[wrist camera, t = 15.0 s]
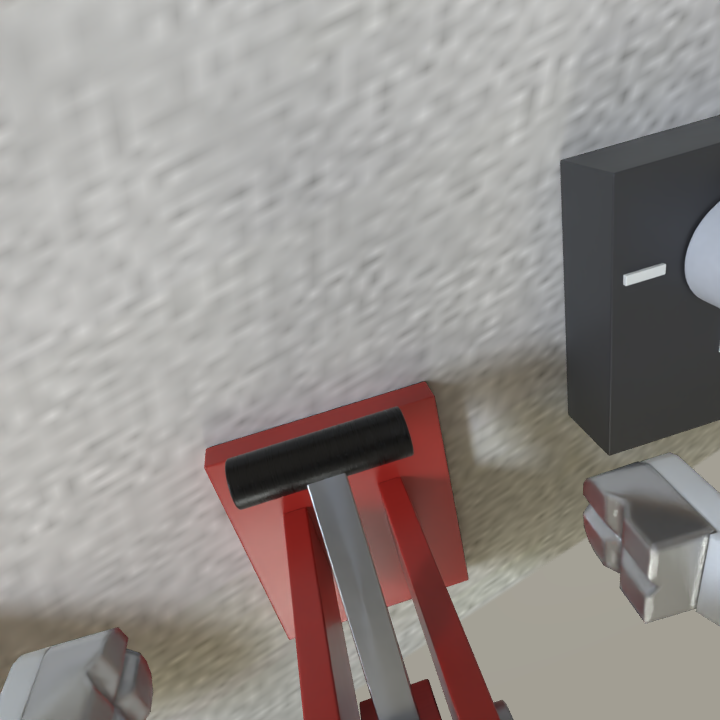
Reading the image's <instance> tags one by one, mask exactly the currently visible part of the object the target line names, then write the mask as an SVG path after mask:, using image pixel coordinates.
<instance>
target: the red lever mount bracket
mask: <svg viewBox="0 0 720 720" xmlns="http://www.w3.org/2000/svg"><path fill="white" fill-rule="evenodd" d="M396 406H398V407H399V408H400V409H401V411H402V413H403V416H404V418H405V421H406V424H407V426H408V429H409V433H410V436H411V440H412V444H413V449H414V455H413V456H410V457H407V458H403V459H400V460H397V461H394V462H391V463H388V464H385V465H381V466H378V467H375V468H372V469H369V470H366V471H363V472H359V473H356V474H353V475H350V476H348V480H349V483H350V486H351V490H352V493H353V496H354V499H355V503H356V506H357V509H358V513H359V516H360V519H361V523H362V526H363V529H364V532H365V536H366V539H367V542H368V546H369V549H370V552H371V556H372V559H373V562H374V565H375V569H376V572H377V575H378V579H379V582H380V585H381V589H382V592H383V595H384V598H385V602H386V605H387V607H389V606H392V605H395V604H398V603H401V602H404V601H407V600H410V599H412V600H413V603H414V606H415V609H416V612H417V615H418V618H419V621H420V624H421V627H422V630H423V633H424V635H425V638H426V641H427V644H428V647H429V650H430V653H431V656H432V659H433V662H434V665H435V668H436V671H437V674H438V677H439V680H440V683H441V686H442V689H443V692H444V695H445V698H446V701H447V704H448V707H449V710H450V713H451V716H452V719H453V720H513V718H512V715H511V713H510V711H509V709H508V707H507V705H506V703H505V702H504V701H503V700H500V701H497V702H494V703H493V701H492V698H491V696H490V693H489V691H488V688H487V686H486V683H485V681H484V679H483V676H482V674H481V671H480V669H479V667H478V664H477V662H476V659H475V657H474V654H473V652H472V649H471V647H470V644H469V642H468V639H467V637H466V635H465V632H464V630H463V627H462V625H461V622H460V620H459V617H458V615H457V613H456V610H455V608H454V605H453V603H452V600H451V598H450V595H449V593H448V591H447V588H446V587H448V586H451V585H454V584H457V583H460V582H463V581H466V580H468V573H467V567H466V562H465V557H464V551H463V546H462V540H461V535H460V530H459V524H458V519H457V514H456V508H455V503H454V498H453V492H452V487H451V481H450V476H449V471H448V465H447V460H446V455H445V449H444V444H443V439H442V433H441V428H440V422H439V417H438V412H437V406H436V401H435V396H434V395H433V393H432V391H431V390H430V388H429V387H428V385H427V383H426V382H421V383H418V384H414V385H411V386H408V387H405V388H401V389H398V390H395V391H392V392H388V393H385V394H382V395H379V396H375V397H372V398H369V399H366V400H362V401H359V402H356V403H353V404H349V405H346V406H343V407H340V408H336V409H333V410H330V411H327V412H323V413H320V414H317V415H314V416H310V417H307V418H304V419H301V420H297V421H294V422H291V423H288V424H284V425H281V426H278V427H275V428H272V429H268V430H265V431H262V432H259V433H255V434H252V435H249V436H246V437H242V438H239V439H236V440H233V441H229V442H226V443H223V444H220V445H216V446H213V447H210V448H207V449H206V454H205V465H204V468H205V470H206V472H207V474H208V476H209V478H210V481H211V483H212V485H213V487H214V489H215V491H216V493H217V495H218V497H219V499H220V501H221V503H222V505H223V507H224V509H225V511H226V513H227V515H228V517H229V519H230V521H231V523H232V525H233V527H234V529H235V531H236V533H237V535H238V537H239V539H240V541H241V543H242V545H243V547H244V549H245V551H246V553H247V555H248V557H249V559H250V561H251V563H252V565H253V568H254V570H255V572H256V574H257V576H258V578H259V580H260V582H261V584H262V586H263V588H264V590H265V592H266V594H267V596H268V598H269V600H270V602H271V604H272V606H273V608H274V610H275V612H276V614H277V616H278V618H279V620H280V622H281V624H282V626H283V628H284V630H285V632H286V634H287V636H288V638H289V640H291V639H294V638H295V639H296V649H297V659H298V669H299V678H300V688H301V698H302V708H303V718H304V720H360V716H359V711H358V706H357V701H356V695H355V690H354V685H353V679H352V674H351V669H350V664H349V658H348V653H347V648H346V643H345V637H344V632H343V627H342V622H344V621H347V620H348V619H347V616H346V613H345V610H344V606H343V603H342V600H341V596H340V593H339V590H338V587H337V583H336V580H335V577H334V573H333V570H332V567H331V564H330V560H329V557H328V554H327V550H326V547H325V544H324V541H323V537H322V534H321V531H320V527H319V524H318V521H317V518H316V514H315V511H314V508H313V504H312V501H311V498H310V495H309V491H308V489H306V490H303V491H299V492H296V493H293V494H290V495H287V496H284V497H281V498H277V499H274V500H271V501H268V502H265V503H262V504H259V505H255V506H252V507H249V508H246V509H243V510H239V509H238V508H237V507H236V505H235V504H234V502H233V500H232V497H231V495H230V492H229V489H228V485H227V481H226V475H225V462H226V460H227V459H228V458H231V457H235V456H238V455H241V454H244V453H248V452H251V451H254V450H257V449H260V448H264V447H267V446H270V445H273V444H277V443H280V442H283V441H286V440H289V439H293V438H296V437H299V436H302V435H306V434H309V433H312V432H315V431H319V430H322V429H325V428H328V427H331V426H335V425H338V424H341V423H344V422H348V421H351V420H354V419H357V418H360V417H364V416H367V415H370V414H373V413H377V412H380V411H383V410H386V409H389V408H393V407H396Z"/></svg>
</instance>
